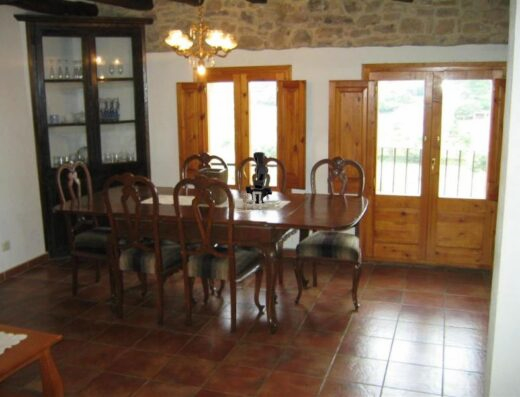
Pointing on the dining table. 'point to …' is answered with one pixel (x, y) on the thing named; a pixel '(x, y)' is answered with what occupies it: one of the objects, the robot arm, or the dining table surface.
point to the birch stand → (244, 205)
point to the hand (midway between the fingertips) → (256, 200)
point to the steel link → (259, 200)
